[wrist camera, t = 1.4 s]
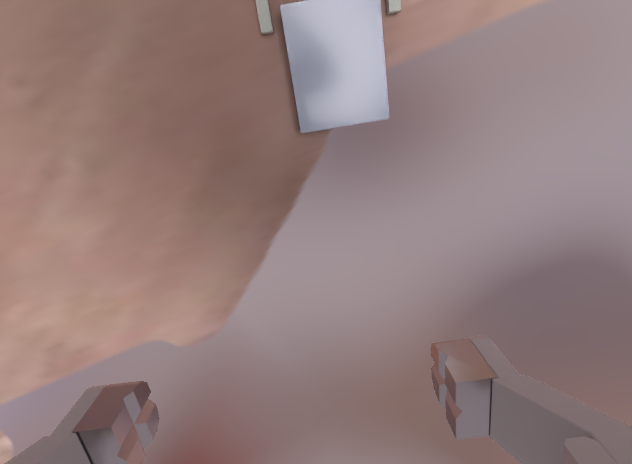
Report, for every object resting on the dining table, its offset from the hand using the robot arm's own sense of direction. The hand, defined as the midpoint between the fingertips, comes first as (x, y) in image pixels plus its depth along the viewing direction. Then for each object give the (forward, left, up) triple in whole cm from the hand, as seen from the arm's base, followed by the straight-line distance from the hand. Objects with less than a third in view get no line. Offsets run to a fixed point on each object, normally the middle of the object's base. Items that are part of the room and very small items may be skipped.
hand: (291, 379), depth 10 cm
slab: (-9, +5, -28) cm, 30 cm away
